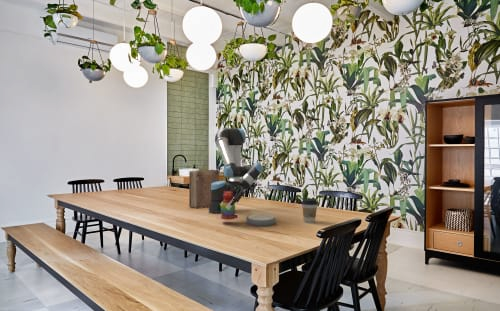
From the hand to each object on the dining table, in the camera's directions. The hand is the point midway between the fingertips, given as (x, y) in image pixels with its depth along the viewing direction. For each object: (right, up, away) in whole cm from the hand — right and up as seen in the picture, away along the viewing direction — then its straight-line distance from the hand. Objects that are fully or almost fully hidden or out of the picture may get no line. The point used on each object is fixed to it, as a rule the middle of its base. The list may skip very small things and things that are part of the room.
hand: (224, 207), depth 228 cm
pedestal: (+24, -11, +3) cm, 27 cm away
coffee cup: (+57, -11, +8) cm, 59 cm away
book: (-22, -9, +68) cm, 72 cm away
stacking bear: (+3, -8, +2) cm, 8 cm away
